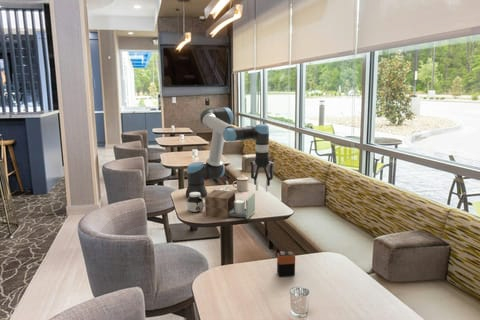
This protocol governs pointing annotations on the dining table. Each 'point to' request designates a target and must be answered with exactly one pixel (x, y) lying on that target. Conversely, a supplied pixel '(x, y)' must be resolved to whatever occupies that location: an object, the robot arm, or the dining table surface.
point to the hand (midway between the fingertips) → (262, 190)
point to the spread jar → (195, 202)
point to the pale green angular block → (249, 208)
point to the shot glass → (239, 206)
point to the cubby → (219, 203)
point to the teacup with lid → (242, 183)
